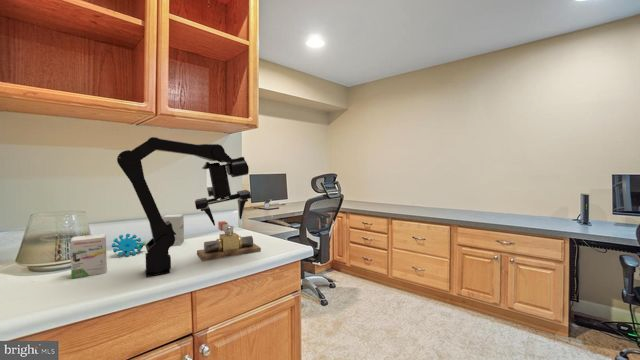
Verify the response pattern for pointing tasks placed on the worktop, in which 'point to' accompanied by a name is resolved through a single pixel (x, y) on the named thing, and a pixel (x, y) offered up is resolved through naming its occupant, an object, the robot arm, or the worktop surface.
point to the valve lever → (225, 227)
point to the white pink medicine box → (88, 255)
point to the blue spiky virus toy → (128, 245)
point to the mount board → (227, 252)
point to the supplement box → (176, 227)
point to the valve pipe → (228, 243)
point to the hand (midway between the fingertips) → (227, 222)
